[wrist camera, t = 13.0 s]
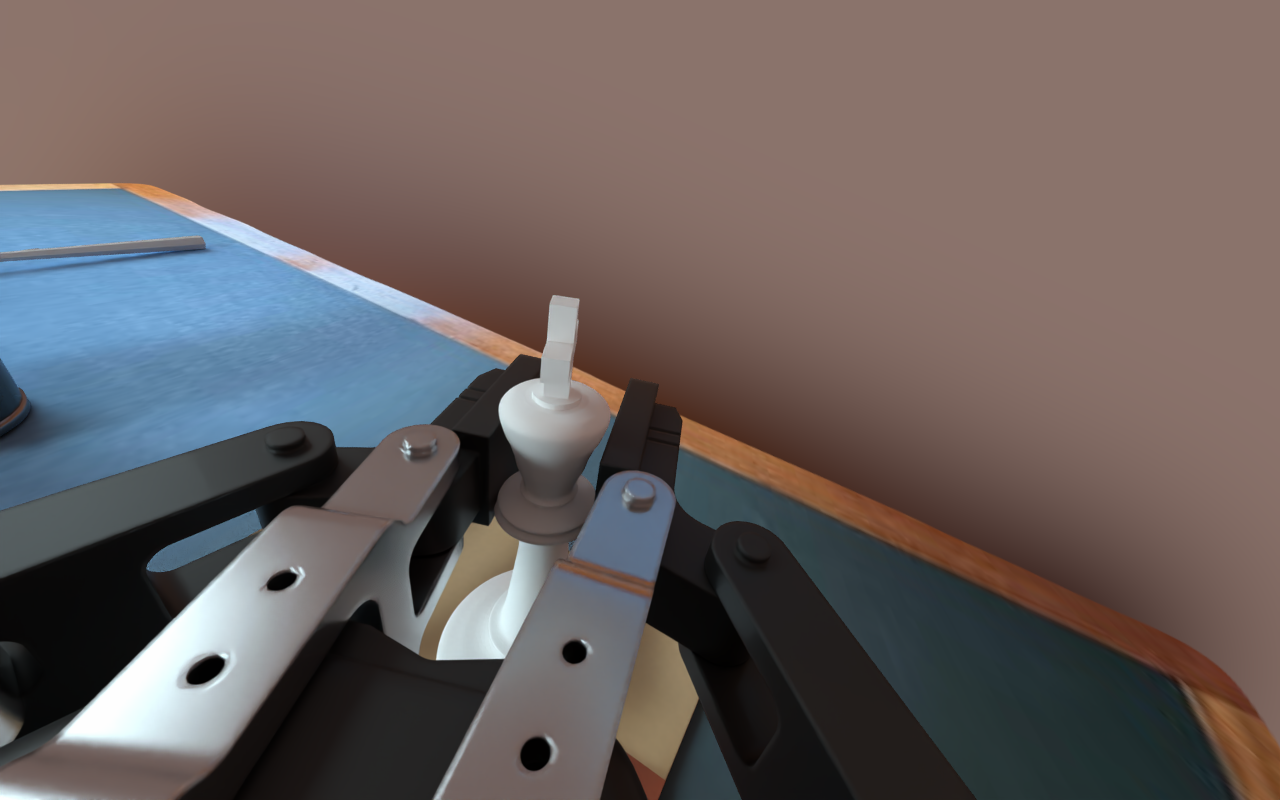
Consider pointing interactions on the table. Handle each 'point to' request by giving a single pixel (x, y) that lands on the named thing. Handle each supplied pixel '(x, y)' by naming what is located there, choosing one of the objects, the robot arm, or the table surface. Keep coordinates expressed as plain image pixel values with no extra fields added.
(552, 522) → the chess piece
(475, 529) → the corner board
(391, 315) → the table surface
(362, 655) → the robot arm
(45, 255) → the wind turbine model
